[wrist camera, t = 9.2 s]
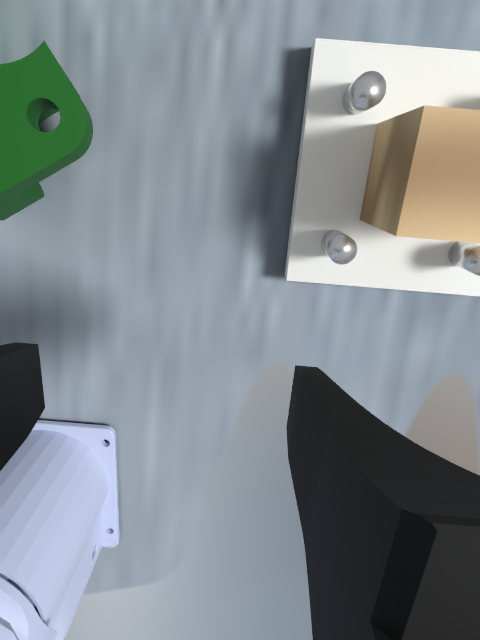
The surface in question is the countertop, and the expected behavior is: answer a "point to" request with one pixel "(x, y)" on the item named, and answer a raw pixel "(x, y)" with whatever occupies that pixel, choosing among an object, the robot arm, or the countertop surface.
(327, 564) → the robot arm
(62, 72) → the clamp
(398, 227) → the block
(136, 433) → the countertop surface
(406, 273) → the plate
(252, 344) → the countertop surface
